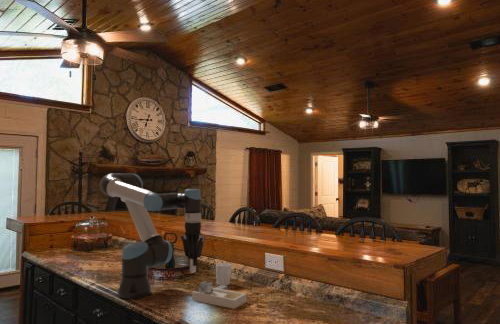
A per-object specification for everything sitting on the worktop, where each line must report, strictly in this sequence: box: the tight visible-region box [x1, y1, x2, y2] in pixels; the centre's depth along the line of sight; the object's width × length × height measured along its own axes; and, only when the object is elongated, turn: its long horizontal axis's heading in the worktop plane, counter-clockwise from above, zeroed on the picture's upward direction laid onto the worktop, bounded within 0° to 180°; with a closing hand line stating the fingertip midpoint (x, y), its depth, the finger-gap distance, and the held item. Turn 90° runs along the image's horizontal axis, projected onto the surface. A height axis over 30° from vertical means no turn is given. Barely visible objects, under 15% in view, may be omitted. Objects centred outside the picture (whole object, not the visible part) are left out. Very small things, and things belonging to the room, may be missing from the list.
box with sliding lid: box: [191, 287, 247, 309], centre depth 168 cm, size 22×10×4 cm, turn 60°
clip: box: [198, 280, 214, 294], centre depth 172 cm, size 4×4×4 cm
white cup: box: [215, 262, 232, 286], centre depth 195 cm, size 8×8×10 cm
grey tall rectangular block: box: [215, 285, 228, 290], centre depth 181 cm, size 4×8×2 cm, turn 150°
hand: (192, 272), depth 176 cm, fingers closed
